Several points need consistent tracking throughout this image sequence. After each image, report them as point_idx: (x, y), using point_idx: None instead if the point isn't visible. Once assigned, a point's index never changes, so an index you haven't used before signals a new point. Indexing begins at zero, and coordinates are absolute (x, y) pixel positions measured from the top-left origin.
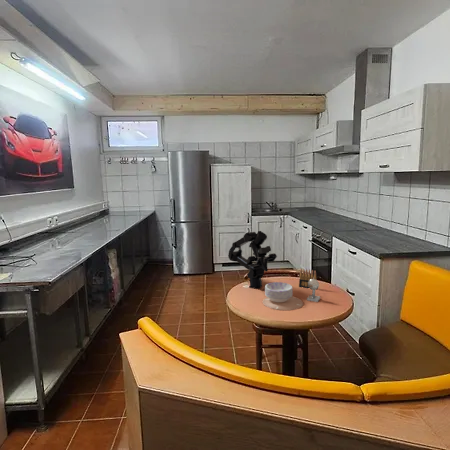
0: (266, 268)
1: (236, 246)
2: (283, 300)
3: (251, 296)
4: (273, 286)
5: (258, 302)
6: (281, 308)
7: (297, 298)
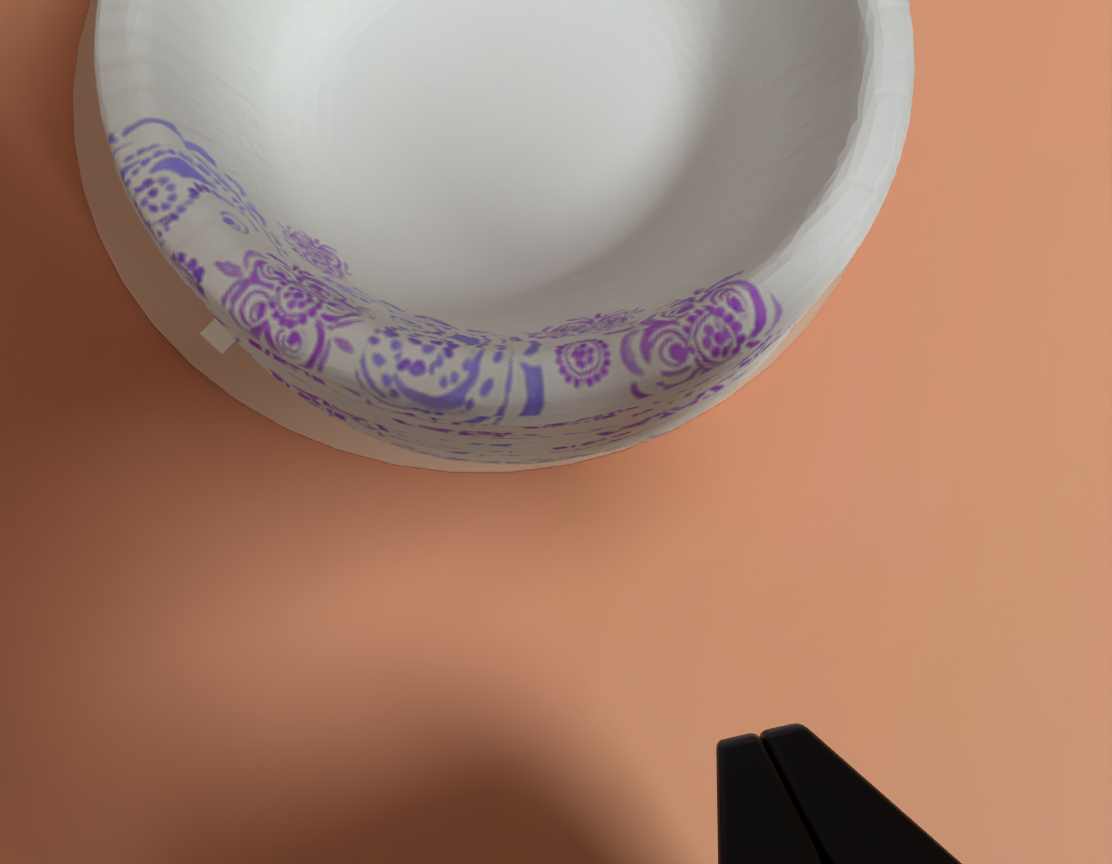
0: (803, 836)
1: None
2: None
3: (1041, 577)
4: (559, 336)
5: (963, 202)
6: None
7: (96, 169)
